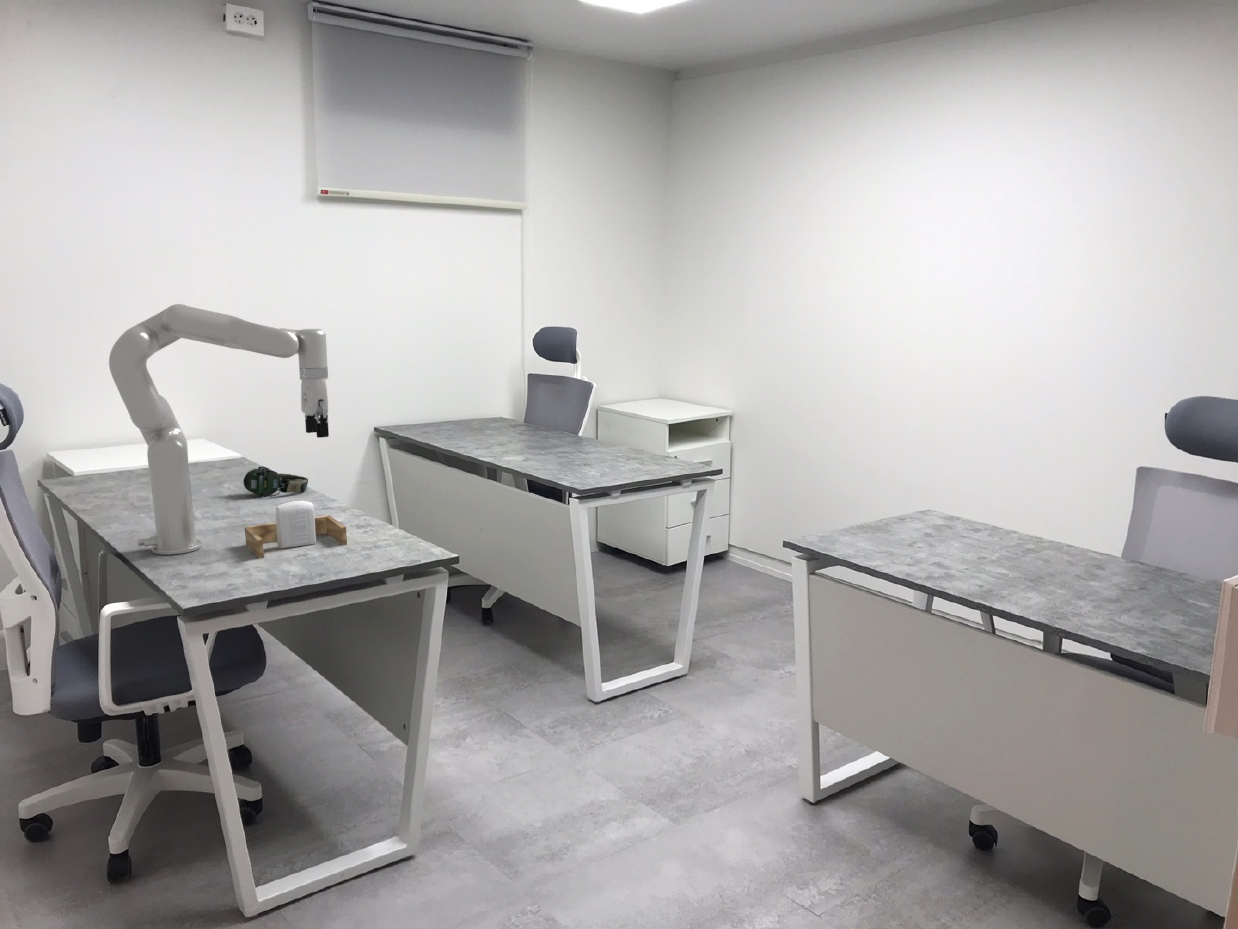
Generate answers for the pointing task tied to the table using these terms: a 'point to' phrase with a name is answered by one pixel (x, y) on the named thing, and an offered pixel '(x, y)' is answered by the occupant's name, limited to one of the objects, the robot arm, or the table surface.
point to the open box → (269, 533)
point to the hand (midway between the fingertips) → (317, 434)
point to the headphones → (273, 482)
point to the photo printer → (295, 524)
